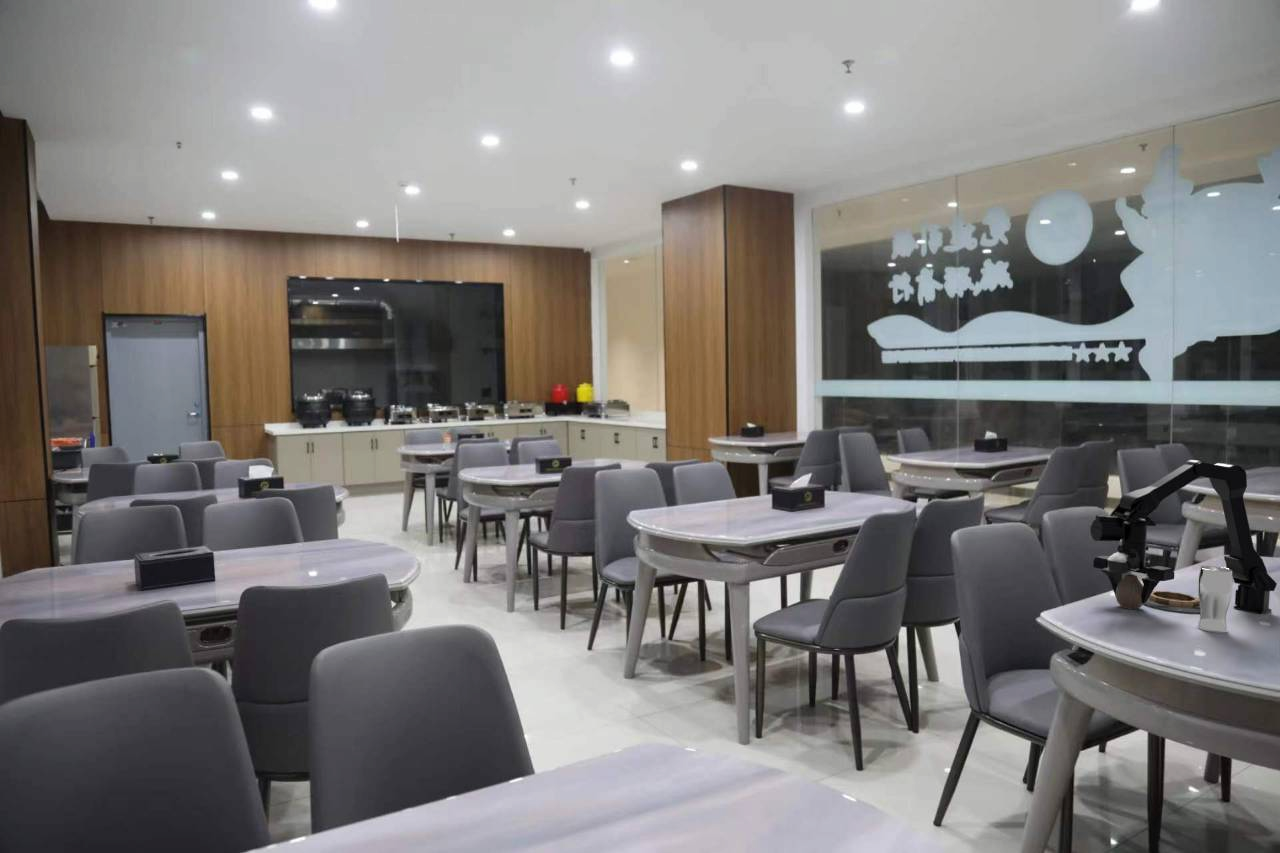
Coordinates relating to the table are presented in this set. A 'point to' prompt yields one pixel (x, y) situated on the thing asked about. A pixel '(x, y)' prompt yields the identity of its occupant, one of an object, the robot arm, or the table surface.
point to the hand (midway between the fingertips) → (1130, 600)
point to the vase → (1129, 592)
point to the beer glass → (1214, 597)
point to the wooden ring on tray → (1173, 602)
